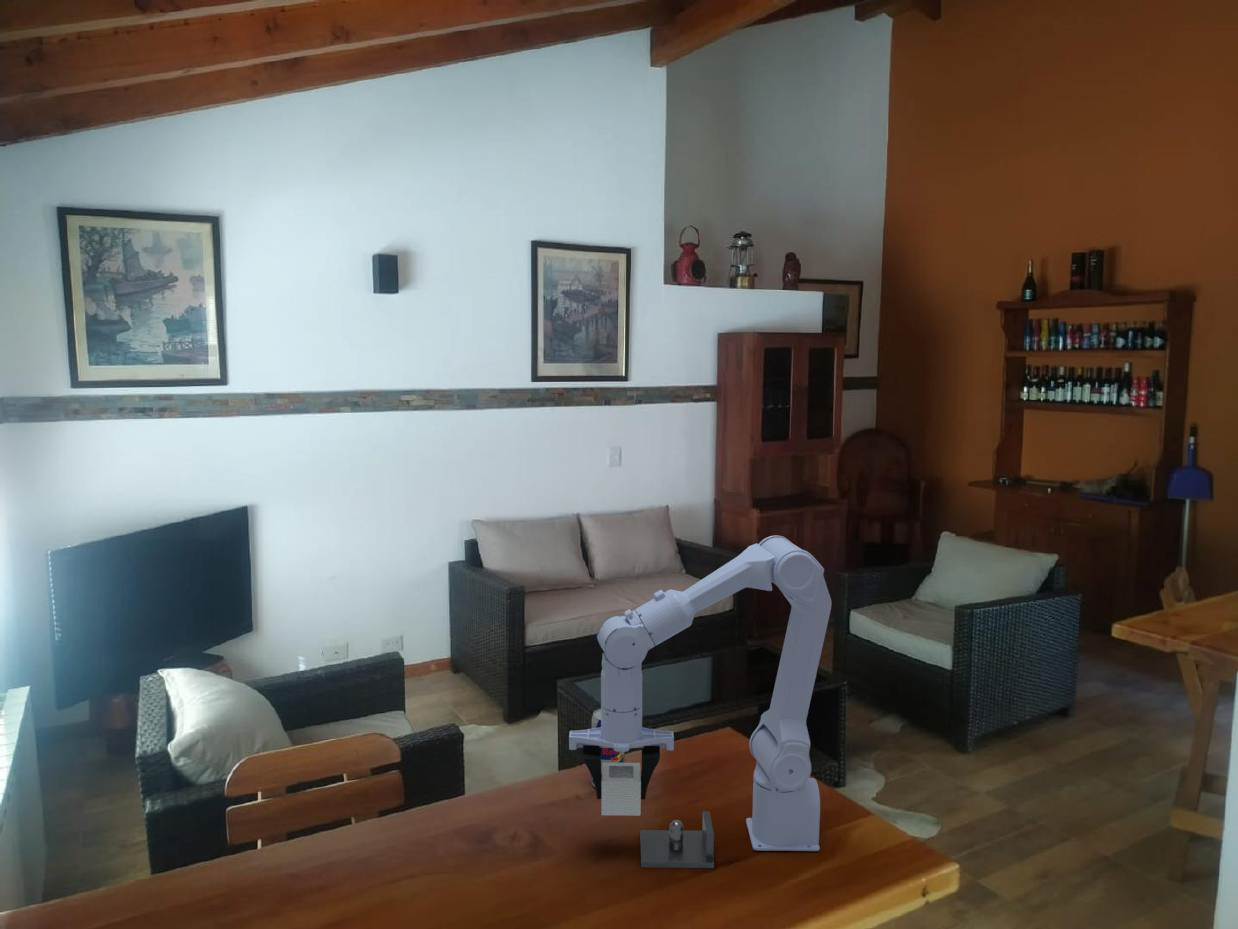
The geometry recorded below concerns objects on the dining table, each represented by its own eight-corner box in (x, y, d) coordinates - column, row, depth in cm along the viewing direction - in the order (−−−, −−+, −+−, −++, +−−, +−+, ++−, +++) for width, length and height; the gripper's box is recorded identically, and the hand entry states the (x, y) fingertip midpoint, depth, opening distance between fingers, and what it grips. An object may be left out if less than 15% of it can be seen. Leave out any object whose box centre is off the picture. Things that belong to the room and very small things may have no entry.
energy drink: (610, 795, 141) (611, 724, 139) (584, 785, 144) (584, 715, 143) (630, 782, 145) (631, 713, 144) (604, 772, 148) (605, 704, 147)
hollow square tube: (639, 795, 128) (640, 762, 127) (640, 815, 122) (640, 781, 122) (602, 795, 128) (602, 762, 127) (601, 815, 122) (601, 781, 122)
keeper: (708, 836, 130) (709, 806, 129) (713, 868, 122) (714, 837, 121) (640, 835, 130) (640, 805, 129) (641, 867, 122) (641, 836, 121)
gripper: (567, 716, 119) (567, 810, 121) (675, 716, 119) (674, 811, 121) (570, 694, 126) (571, 784, 128) (672, 695, 126) (671, 785, 128)
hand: (621, 795), depth 125 cm, fingers closed on hollow square tube, 5 cm apart
